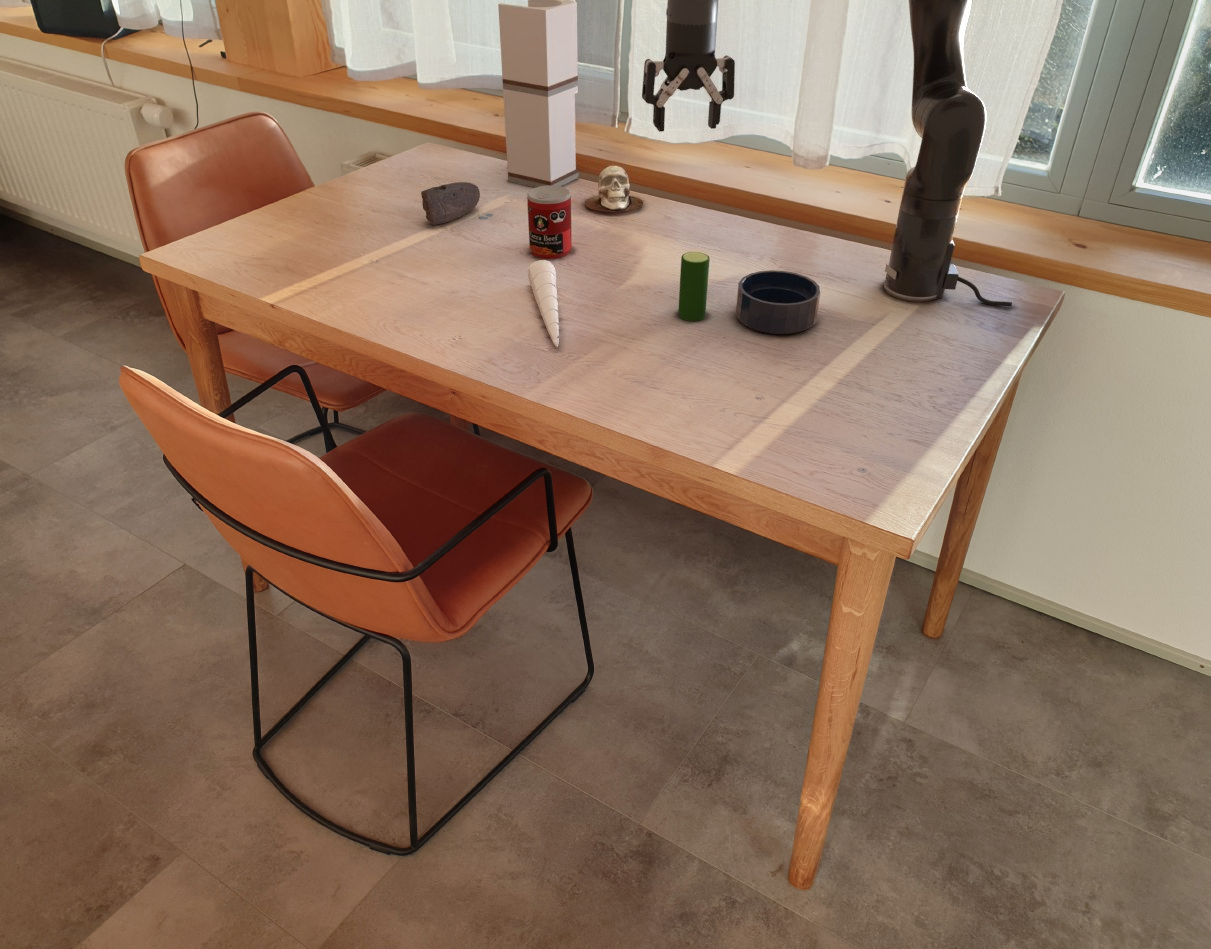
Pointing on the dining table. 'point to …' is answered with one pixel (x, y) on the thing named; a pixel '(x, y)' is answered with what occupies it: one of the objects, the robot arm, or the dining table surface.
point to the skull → (613, 192)
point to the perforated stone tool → (449, 201)
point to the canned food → (549, 221)
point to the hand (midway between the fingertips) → (686, 128)
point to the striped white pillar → (540, 90)
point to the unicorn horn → (546, 295)
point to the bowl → (777, 302)
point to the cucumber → (693, 286)
